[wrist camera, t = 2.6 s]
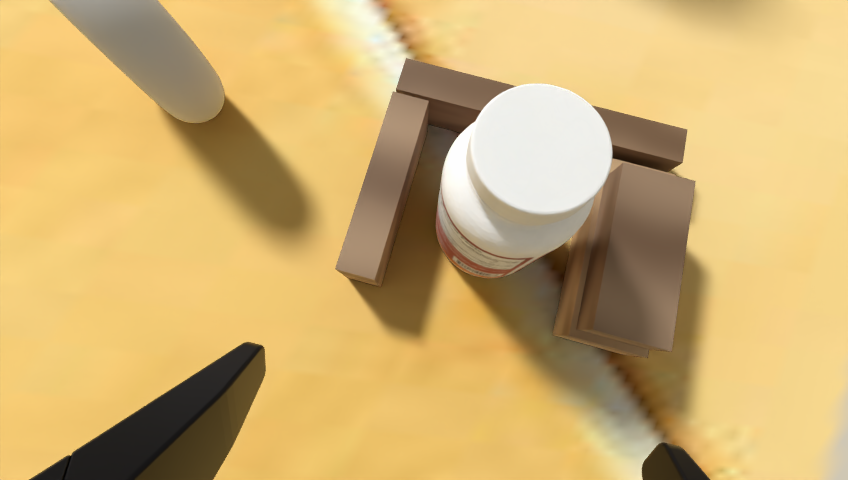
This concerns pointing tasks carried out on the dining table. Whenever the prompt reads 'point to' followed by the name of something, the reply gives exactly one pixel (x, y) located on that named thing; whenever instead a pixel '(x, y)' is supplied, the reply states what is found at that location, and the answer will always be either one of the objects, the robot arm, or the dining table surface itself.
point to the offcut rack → (591, 245)
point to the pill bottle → (521, 179)
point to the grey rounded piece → (151, 53)
